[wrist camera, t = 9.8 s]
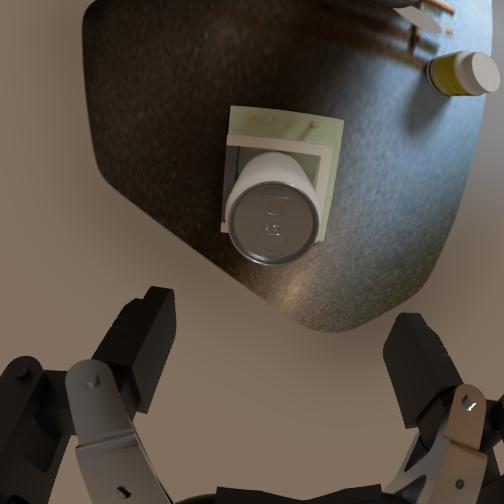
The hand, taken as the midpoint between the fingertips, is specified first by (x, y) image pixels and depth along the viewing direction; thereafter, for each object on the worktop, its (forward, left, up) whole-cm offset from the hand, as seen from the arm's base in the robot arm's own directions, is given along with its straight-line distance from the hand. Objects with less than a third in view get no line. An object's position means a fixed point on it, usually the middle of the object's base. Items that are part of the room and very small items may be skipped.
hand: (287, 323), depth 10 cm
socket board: (-1, 0, -22) cm, 22 cm away
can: (0, -1, -21) cm, 21 cm away
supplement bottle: (-16, +17, -22) cm, 32 cm away
